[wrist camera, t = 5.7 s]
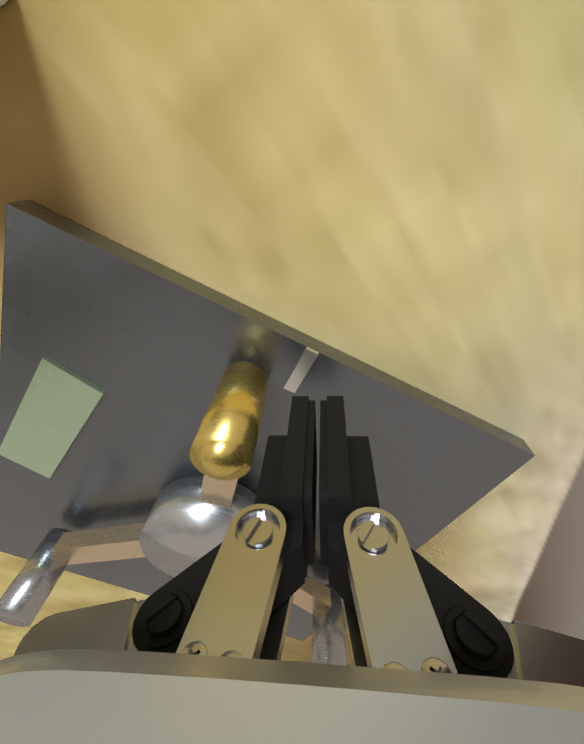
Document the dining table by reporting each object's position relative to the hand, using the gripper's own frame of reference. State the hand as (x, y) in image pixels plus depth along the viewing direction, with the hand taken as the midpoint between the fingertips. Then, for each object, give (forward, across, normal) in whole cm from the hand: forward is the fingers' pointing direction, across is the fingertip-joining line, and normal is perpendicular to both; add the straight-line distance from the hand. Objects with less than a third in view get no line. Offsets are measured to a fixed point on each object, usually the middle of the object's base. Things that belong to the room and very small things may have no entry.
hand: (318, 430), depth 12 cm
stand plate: (+4, +6, +8) cm, 10 cm away
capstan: (+2, +5, +6) cm, 8 cm away
